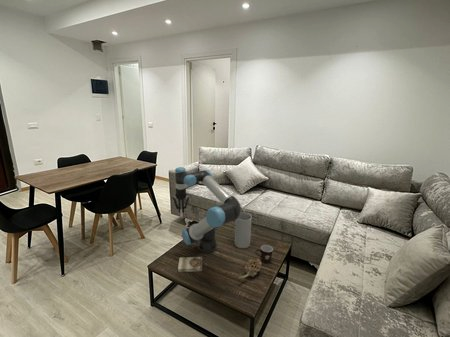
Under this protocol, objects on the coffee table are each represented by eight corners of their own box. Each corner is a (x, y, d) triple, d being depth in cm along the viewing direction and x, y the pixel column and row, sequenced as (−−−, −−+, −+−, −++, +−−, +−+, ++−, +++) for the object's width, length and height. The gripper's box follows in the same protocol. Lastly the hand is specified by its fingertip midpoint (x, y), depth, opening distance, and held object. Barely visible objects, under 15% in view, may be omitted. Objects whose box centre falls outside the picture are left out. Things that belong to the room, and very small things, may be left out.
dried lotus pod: (251, 264, 171) (252, 252, 168) (263, 270, 165) (264, 258, 163) (234, 282, 153) (234, 269, 151) (247, 289, 148) (248, 276, 145)
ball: (198, 260, 169) (194, 259, 169) (198, 263, 166) (193, 262, 165) (196, 264, 170) (192, 263, 169) (196, 267, 167) (191, 266, 166)
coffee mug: (273, 258, 178) (274, 246, 175) (270, 265, 170) (271, 253, 167) (258, 254, 182) (258, 242, 180) (254, 260, 175) (255, 248, 172)
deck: (202, 259, 174) (202, 256, 174) (202, 271, 163) (202, 268, 162) (179, 260, 173) (179, 257, 172) (178, 272, 162) (178, 268, 161)
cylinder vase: (252, 243, 196) (254, 215, 189) (245, 250, 186) (247, 221, 179) (239, 238, 203) (240, 211, 196) (231, 245, 192) (232, 217, 185)
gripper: (189, 186, 183) (190, 214, 189) (172, 186, 182) (173, 214, 188) (189, 189, 176) (189, 218, 182) (171, 189, 175) (172, 219, 181)
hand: (181, 216), depth 185 cm, fingers closed
